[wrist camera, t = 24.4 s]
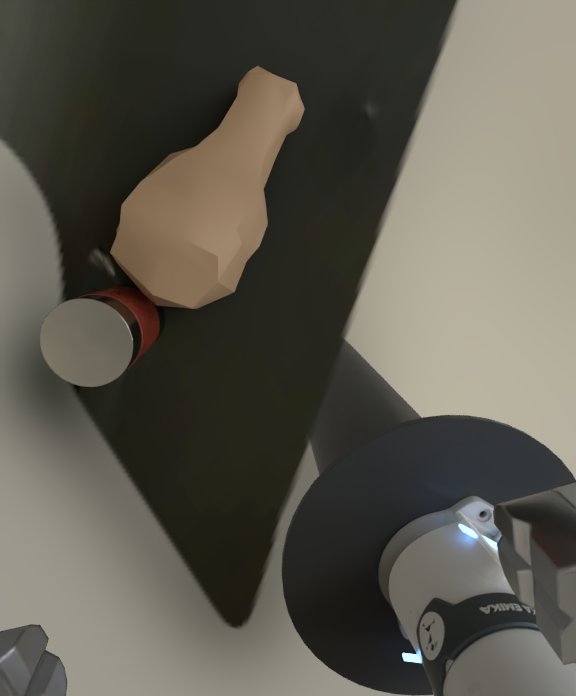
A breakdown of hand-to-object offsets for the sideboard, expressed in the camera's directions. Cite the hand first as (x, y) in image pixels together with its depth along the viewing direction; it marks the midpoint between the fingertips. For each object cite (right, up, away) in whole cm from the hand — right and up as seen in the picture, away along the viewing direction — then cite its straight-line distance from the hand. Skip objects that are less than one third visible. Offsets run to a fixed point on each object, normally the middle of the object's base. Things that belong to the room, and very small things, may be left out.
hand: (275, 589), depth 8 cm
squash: (-6, +17, +31) cm, 36 cm away
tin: (-14, +7, +33) cm, 36 cm away
